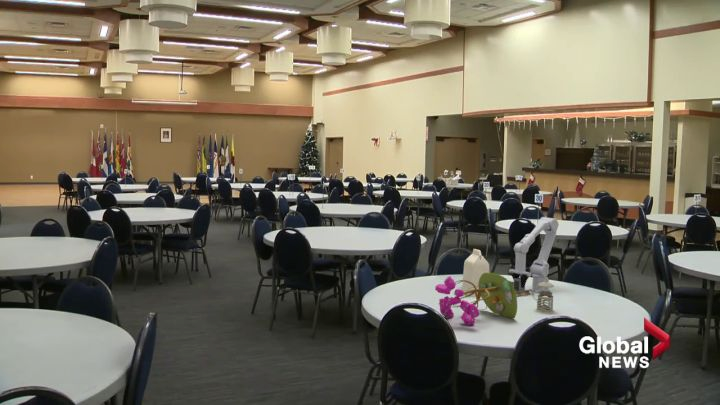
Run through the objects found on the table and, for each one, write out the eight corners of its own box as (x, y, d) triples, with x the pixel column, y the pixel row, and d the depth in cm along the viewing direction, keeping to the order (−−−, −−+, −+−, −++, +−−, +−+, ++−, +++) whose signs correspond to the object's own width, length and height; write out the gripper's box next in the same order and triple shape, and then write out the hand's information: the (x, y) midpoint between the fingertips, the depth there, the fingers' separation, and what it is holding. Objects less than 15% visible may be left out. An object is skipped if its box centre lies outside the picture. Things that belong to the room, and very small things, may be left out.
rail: (517, 291, 381) (517, 277, 381) (530, 294, 373) (531, 280, 373) (496, 294, 370) (497, 281, 370) (510, 298, 363) (510, 284, 362)
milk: (461, 293, 374) (463, 248, 372) (479, 291, 377) (480, 247, 375) (471, 297, 363) (472, 251, 360) (489, 296, 366) (491, 251, 364)
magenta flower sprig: (513, 259, 310) (456, 276, 293) (528, 317, 308) (472, 337, 291) (475, 265, 336) (420, 281, 319) (488, 319, 334) (434, 337, 317)
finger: (524, 290, 375) (525, 278, 374) (518, 291, 371) (519, 279, 371) (519, 289, 378) (519, 277, 377) (513, 290, 374) (513, 278, 374)
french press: (551, 314, 327) (553, 265, 325) (529, 311, 333) (530, 263, 331) (557, 310, 335) (559, 263, 333) (534, 307, 341) (536, 260, 339)
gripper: (506, 262, 377) (505, 285, 378) (526, 266, 365) (525, 289, 366) (514, 261, 381) (513, 284, 382) (534, 265, 370) (533, 288, 371)
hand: (519, 286), depth 375 cm, fingers closed on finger, 4 cm apart
